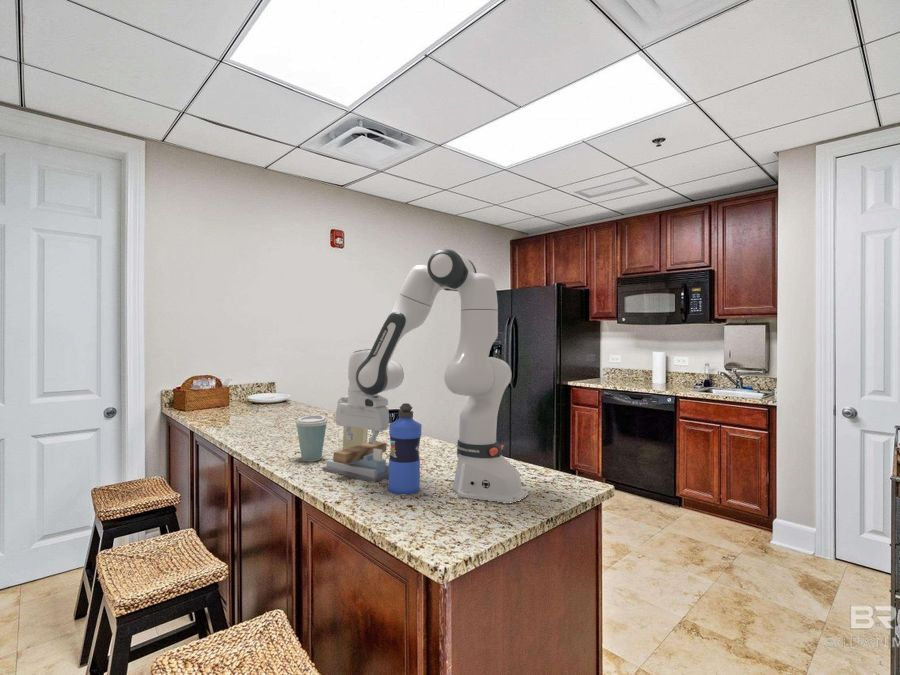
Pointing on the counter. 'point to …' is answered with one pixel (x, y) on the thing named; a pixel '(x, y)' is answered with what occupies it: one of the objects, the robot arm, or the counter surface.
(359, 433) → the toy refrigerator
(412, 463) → the water bottle
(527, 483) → the counter surface
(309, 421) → the disposable coffee cup
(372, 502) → the counter surface
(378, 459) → the pale blue tabbed body
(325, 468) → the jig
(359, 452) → the brown long rectangular bar
